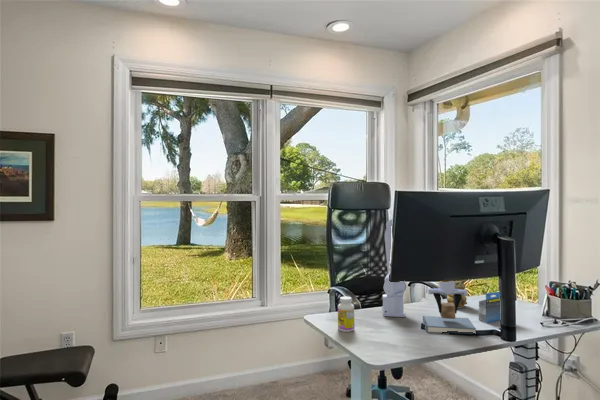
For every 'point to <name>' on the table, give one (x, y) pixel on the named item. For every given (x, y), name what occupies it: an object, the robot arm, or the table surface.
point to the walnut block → (447, 310)
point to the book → (447, 324)
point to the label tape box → (489, 308)
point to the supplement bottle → (346, 314)
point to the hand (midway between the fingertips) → (447, 312)
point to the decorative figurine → (463, 301)
